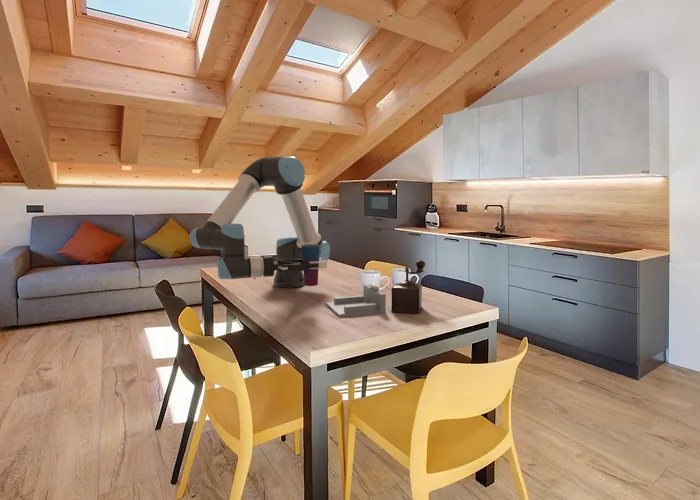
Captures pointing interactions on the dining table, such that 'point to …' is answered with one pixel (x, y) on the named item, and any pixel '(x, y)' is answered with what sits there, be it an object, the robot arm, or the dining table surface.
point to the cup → (309, 255)
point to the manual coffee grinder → (408, 293)
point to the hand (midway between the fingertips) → (324, 263)
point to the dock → (360, 303)
